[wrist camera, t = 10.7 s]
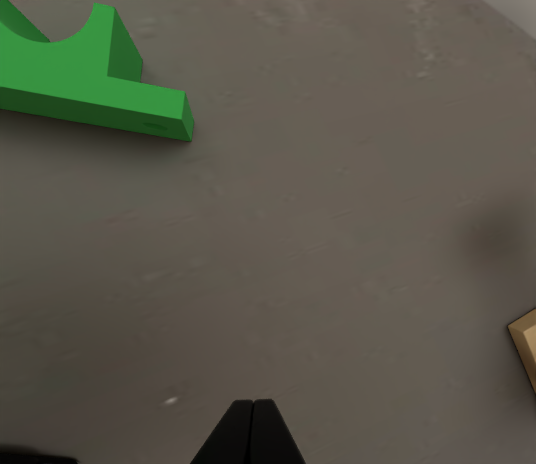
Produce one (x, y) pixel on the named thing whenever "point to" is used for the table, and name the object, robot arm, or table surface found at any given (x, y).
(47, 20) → the table surface
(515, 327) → the bracket
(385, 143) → the table surface
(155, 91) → the pipe clamp
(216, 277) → the table surface
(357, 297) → the table surface
